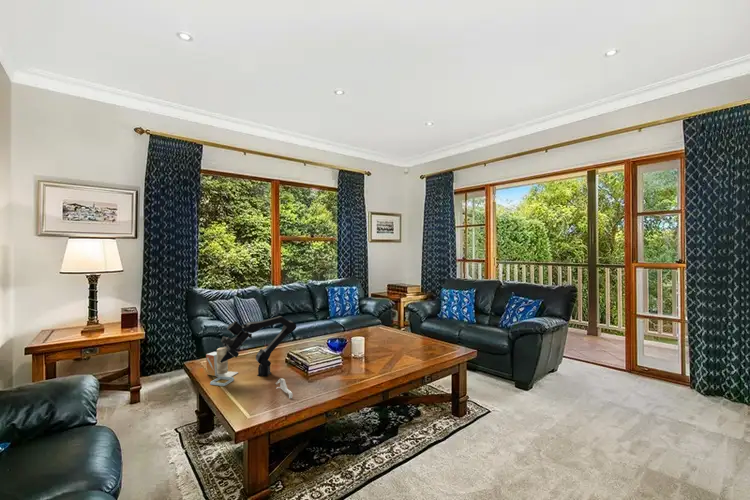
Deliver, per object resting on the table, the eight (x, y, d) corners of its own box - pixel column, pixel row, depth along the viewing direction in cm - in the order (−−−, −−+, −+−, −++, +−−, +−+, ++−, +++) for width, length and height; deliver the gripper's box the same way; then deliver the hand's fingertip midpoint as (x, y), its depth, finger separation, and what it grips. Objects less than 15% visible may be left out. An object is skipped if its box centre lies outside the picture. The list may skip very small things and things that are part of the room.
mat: (238, 373, 226) (238, 372, 226) (229, 378, 218) (229, 377, 218) (225, 371, 228) (225, 371, 228) (216, 377, 219) (216, 376, 219)
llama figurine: (277, 400, 201) (290, 398, 188) (274, 380, 205) (287, 376, 192) (280, 400, 203) (293, 397, 189) (277, 379, 206) (290, 376, 193)
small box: (206, 374, 223) (205, 354, 223) (215, 371, 228) (214, 351, 228) (214, 376, 219) (213, 355, 219) (224, 373, 224) (222, 352, 224)
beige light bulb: (229, 370, 214) (229, 347, 213) (223, 374, 208) (223, 350, 207) (221, 370, 215) (220, 347, 214) (214, 373, 209) (214, 350, 208)
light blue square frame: (234, 380, 215) (234, 377, 215) (224, 386, 206) (224, 383, 206) (220, 378, 217) (220, 376, 217) (210, 384, 207) (210, 382, 207)
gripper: (226, 328, 221) (207, 348, 215) (232, 334, 205) (212, 356, 199) (239, 339, 225) (221, 359, 219) (246, 346, 210) (226, 368, 204)
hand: (219, 360), depth 210 cm, fingers closed on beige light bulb, 6 cm apart
